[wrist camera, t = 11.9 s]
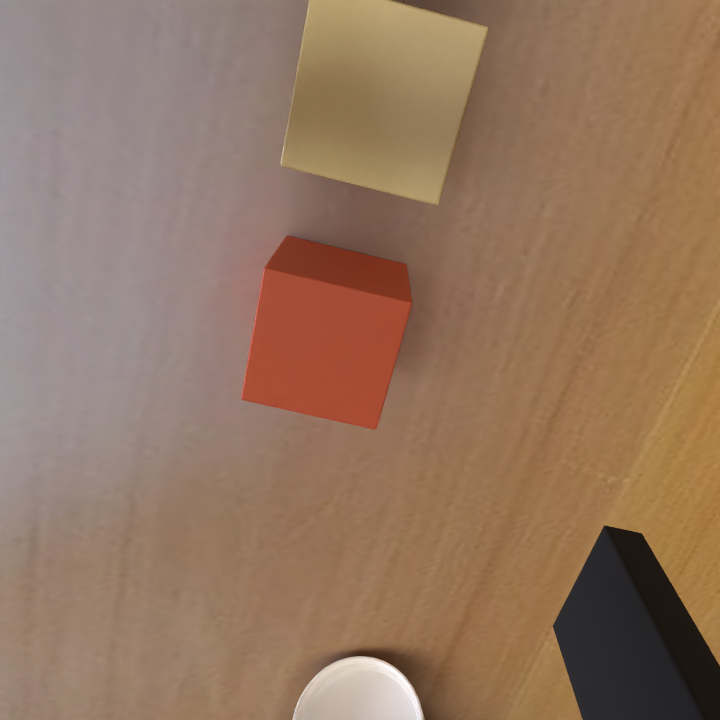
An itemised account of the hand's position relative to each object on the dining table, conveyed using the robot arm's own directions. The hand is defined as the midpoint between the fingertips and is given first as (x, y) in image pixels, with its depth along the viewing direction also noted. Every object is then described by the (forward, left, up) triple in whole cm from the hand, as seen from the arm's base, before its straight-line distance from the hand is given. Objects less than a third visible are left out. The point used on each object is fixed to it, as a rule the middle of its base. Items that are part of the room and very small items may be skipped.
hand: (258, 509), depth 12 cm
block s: (+1, +1, -15) cm, 15 cm away
